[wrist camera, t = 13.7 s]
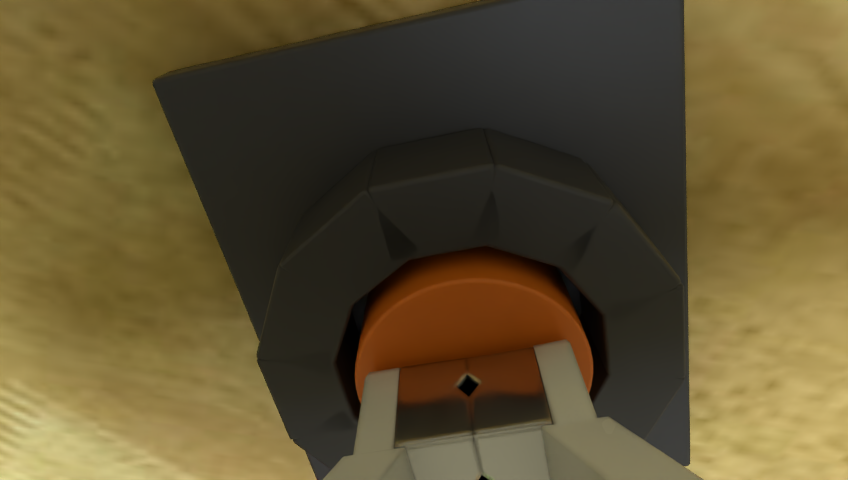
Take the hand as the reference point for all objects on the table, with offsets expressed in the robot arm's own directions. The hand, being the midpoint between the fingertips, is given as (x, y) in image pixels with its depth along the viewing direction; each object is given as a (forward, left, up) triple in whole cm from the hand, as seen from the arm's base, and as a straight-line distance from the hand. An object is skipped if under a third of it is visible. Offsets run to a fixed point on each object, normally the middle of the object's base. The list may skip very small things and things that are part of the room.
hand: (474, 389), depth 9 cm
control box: (0, 0, -3) cm, 3 cm away
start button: (0, 0, -2) cm, 2 cm away
